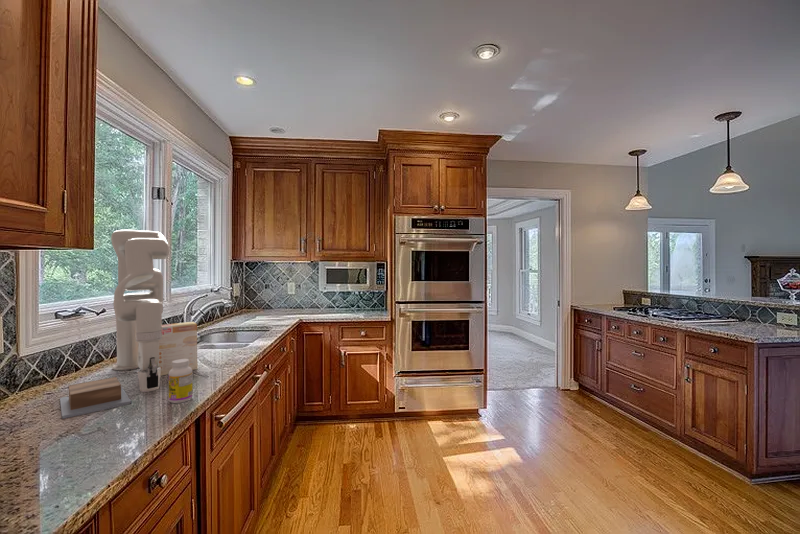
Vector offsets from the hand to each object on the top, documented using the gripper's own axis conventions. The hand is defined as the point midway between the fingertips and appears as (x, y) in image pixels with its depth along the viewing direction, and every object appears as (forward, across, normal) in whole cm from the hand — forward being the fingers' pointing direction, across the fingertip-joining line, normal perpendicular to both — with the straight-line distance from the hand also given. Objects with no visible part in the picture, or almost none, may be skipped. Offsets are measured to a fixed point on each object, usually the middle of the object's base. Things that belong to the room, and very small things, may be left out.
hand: (149, 384), depth 128 cm
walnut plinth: (+2, +2, -15) cm, 15 cm away
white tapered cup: (+2, 0, 0) cm, 2 cm away
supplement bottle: (+2, +20, +5) cm, 21 cm away
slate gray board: (+2, +2, -15) cm, 15 cm away
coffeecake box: (+2, -18, +12) cm, 22 cm away
